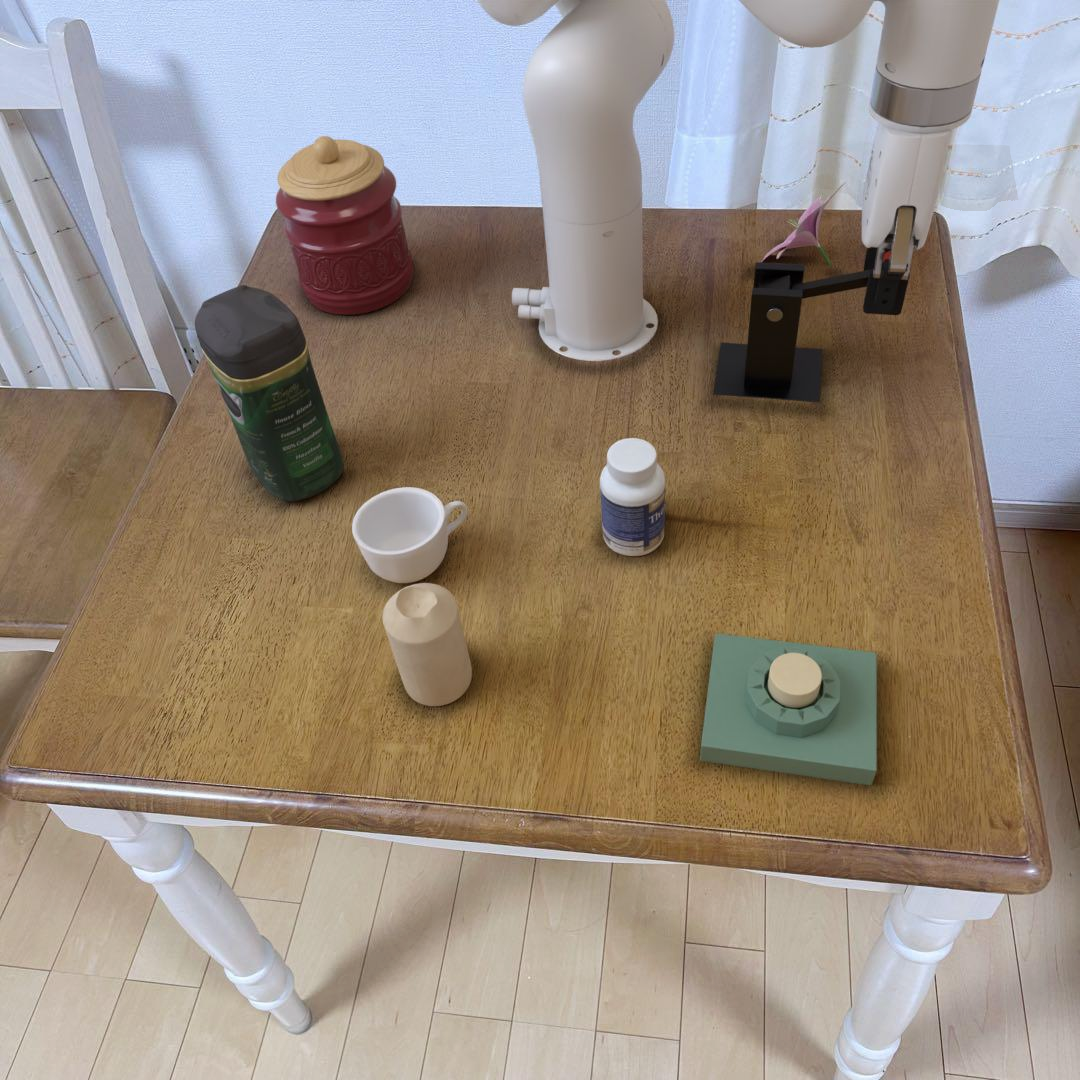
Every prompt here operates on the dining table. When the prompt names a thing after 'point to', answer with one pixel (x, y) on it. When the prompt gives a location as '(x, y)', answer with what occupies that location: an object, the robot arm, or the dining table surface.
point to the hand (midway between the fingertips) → (881, 290)
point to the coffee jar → (270, 391)
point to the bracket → (771, 346)
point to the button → (794, 680)
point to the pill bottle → (632, 498)
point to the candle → (428, 643)
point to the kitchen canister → (344, 226)
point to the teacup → (404, 533)
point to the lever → (822, 283)
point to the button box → (791, 712)
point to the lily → (806, 229)
